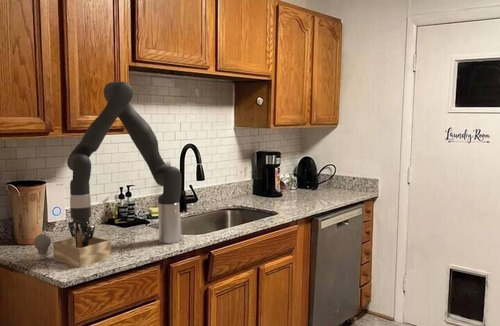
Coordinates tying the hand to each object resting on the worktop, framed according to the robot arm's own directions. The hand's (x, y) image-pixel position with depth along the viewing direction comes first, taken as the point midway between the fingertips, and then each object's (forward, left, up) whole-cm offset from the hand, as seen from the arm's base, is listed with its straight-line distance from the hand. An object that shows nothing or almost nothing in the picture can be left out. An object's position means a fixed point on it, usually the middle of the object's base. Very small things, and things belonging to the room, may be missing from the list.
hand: (82, 249), depth 185 cm
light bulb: (+9, -12, -4) cm, 16 cm away
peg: (0, 0, -3) cm, 3 cm away
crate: (0, 0, -4) cm, 4 cm away
